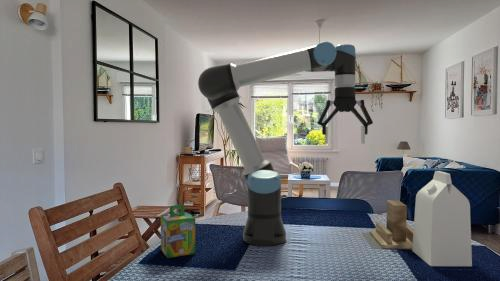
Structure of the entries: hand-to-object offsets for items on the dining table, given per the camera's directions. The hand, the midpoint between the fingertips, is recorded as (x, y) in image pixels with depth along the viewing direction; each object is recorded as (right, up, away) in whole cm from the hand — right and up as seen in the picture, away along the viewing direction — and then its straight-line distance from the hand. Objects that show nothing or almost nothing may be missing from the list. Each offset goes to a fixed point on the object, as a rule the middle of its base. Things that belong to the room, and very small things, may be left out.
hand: (344, 143), depth 135 cm
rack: (+14, -33, -13) cm, 38 cm away
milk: (+21, -34, -29) cm, 50 cm away
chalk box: (-59, -35, -22) cm, 72 cm away
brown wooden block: (+14, -32, -13) cm, 37 cm away
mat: (+14, -33, -13) cm, 39 cm away
